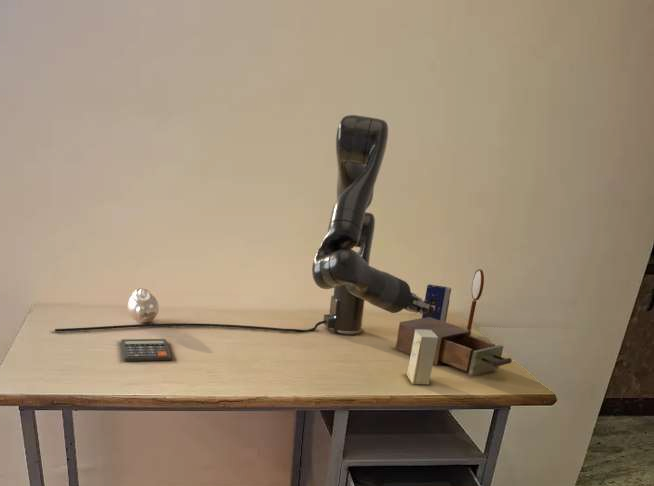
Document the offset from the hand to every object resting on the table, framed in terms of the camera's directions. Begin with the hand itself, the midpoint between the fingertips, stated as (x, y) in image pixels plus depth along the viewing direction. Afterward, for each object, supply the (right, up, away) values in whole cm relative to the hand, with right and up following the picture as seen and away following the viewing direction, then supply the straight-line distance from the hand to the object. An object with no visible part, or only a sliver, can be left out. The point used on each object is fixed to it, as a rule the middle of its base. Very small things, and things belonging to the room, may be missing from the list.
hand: (430, 312), depth 170 cm
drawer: (+14, -10, +15) cm, 23 cm away
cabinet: (+5, -5, +25) cm, 26 cm away
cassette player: (+12, +10, +51) cm, 54 cm away
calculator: (-72, -7, +12) cm, 73 cm away
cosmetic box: (-2, -16, +6) cm, 17 cm away
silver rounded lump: (-76, +6, +34) cm, 84 cm away
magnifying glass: (+20, +3, +41) cm, 46 cm away
